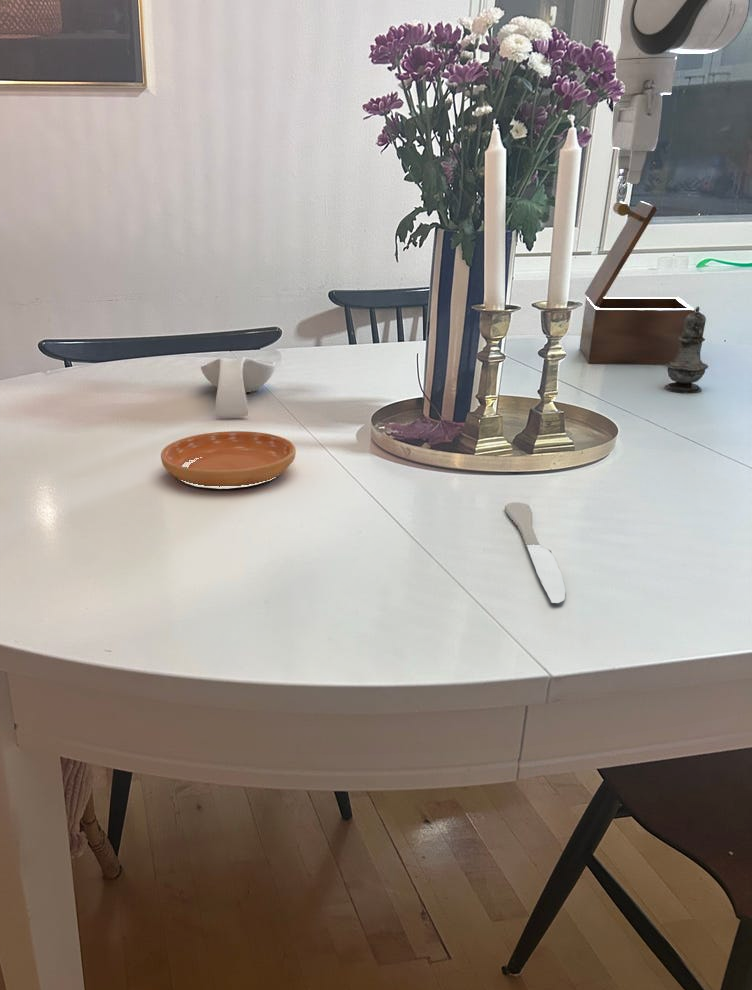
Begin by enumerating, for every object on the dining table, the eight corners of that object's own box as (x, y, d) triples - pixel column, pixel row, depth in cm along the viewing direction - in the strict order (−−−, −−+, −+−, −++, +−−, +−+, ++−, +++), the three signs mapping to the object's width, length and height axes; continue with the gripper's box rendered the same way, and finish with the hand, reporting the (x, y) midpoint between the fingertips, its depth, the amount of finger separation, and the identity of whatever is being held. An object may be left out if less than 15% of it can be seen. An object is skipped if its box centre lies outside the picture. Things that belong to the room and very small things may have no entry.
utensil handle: (531, 502, 100) (503, 502, 100) (575, 602, 79) (540, 601, 79) (531, 506, 100) (503, 505, 100) (575, 606, 79) (539, 605, 79)
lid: (643, 202, 157) (618, 189, 157) (658, 208, 146) (631, 194, 146) (588, 295, 165) (564, 283, 165) (598, 307, 154) (572, 294, 154)
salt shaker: (661, 392, 141) (676, 308, 135) (662, 383, 146) (676, 302, 140) (703, 394, 139) (720, 310, 133) (703, 385, 144) (719, 303, 138)
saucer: (134, 479, 111) (132, 454, 109) (221, 445, 122) (220, 423, 120) (239, 505, 102) (238, 479, 101) (322, 467, 113) (322, 443, 112)
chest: (669, 349, 167) (678, 297, 163) (685, 364, 156) (695, 309, 152) (579, 348, 169) (585, 297, 165) (588, 363, 159) (595, 309, 154)
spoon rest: (204, 381, 154) (202, 336, 150) (276, 379, 153) (275, 334, 150) (192, 420, 133) (189, 369, 129) (275, 418, 133) (274, 367, 129)
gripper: (678, 78, 134) (660, 185, 141) (651, 84, 152) (637, 178, 159) (632, 79, 135) (617, 186, 142) (611, 85, 153) (598, 179, 160)
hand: (627, 182), depth 150 cm, fingers open, 8 cm apart
